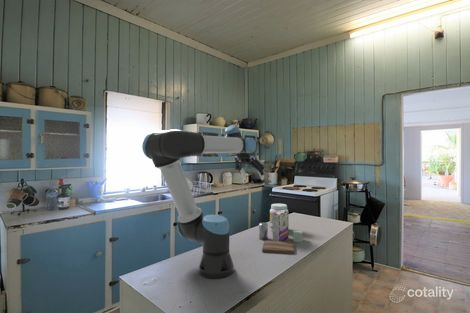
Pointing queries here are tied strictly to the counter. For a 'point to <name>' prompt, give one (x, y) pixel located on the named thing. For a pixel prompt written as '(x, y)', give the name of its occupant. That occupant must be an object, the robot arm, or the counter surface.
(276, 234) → the candy bar box
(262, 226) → the grey tin
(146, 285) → the counter surface
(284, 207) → the supplement tub
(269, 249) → the board
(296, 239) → the sage block
